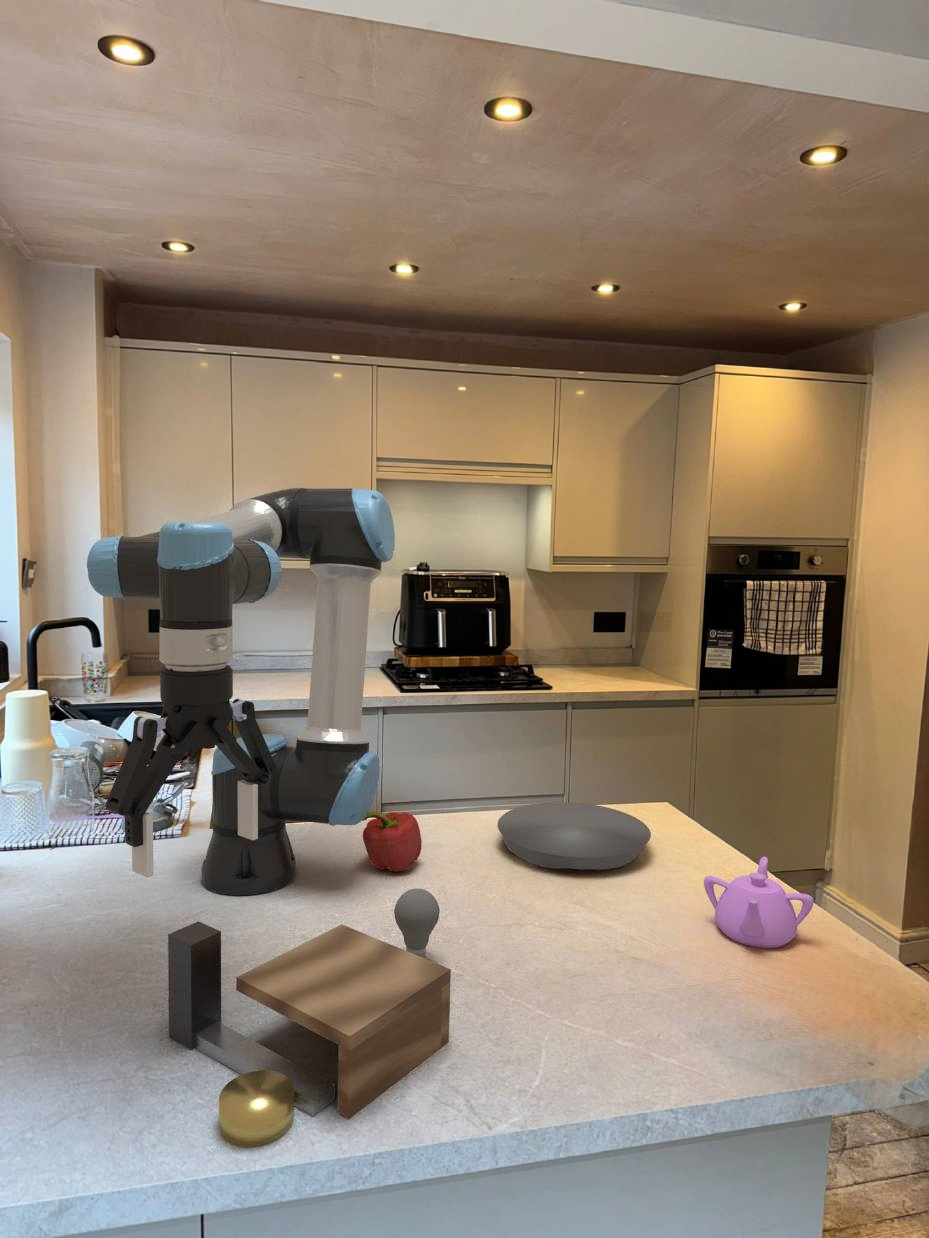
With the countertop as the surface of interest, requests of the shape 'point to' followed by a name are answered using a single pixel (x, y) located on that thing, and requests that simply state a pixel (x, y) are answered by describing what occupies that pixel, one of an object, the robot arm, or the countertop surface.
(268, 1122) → the ball
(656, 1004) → the countertop surface
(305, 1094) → the l-shaped hook tool
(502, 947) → the countertop surface
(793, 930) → the teapot
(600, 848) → the flat disc
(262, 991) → the shelf
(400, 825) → the vegetable
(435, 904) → the light bulb
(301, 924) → the countertop surface
